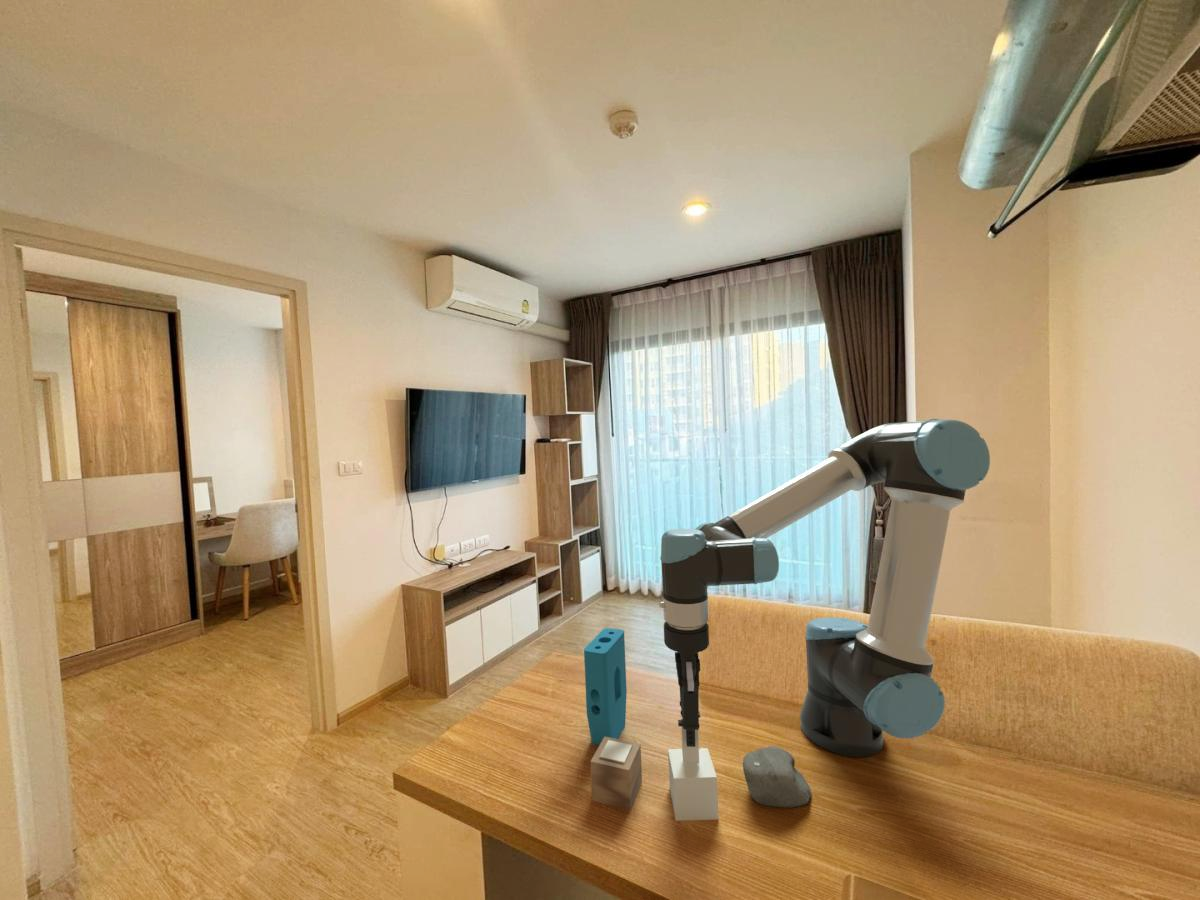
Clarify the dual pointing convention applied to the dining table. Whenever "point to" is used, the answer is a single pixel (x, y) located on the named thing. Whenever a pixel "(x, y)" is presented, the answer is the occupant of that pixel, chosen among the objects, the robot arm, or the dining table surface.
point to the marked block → (616, 773)
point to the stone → (775, 778)
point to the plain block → (693, 787)
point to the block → (605, 684)
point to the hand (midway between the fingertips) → (690, 759)
